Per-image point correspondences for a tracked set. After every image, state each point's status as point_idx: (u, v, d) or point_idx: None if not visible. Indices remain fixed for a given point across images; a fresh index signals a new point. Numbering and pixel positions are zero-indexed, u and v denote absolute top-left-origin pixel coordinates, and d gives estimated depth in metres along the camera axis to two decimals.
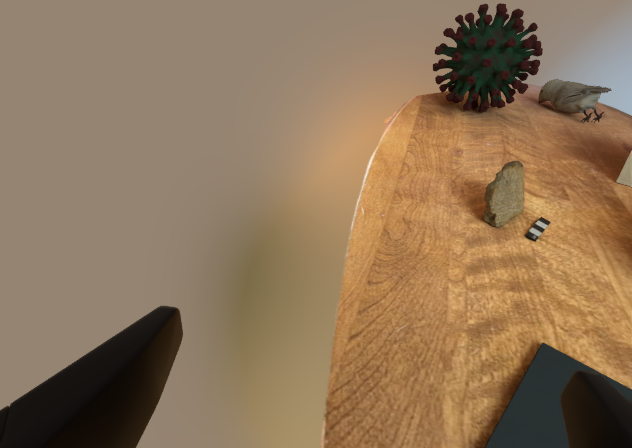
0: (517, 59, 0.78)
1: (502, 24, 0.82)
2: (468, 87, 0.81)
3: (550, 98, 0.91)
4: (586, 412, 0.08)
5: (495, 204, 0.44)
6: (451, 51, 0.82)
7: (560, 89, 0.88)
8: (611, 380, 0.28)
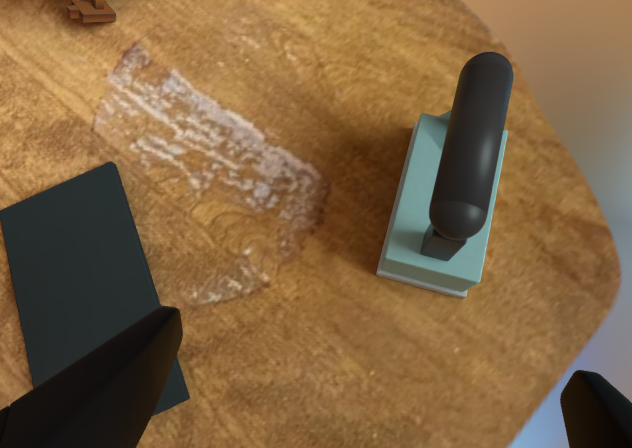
0: None
1: None
2: None
3: None
4: (586, 412, 0.08)
5: None
6: None
7: None
8: (63, 184, 0.27)
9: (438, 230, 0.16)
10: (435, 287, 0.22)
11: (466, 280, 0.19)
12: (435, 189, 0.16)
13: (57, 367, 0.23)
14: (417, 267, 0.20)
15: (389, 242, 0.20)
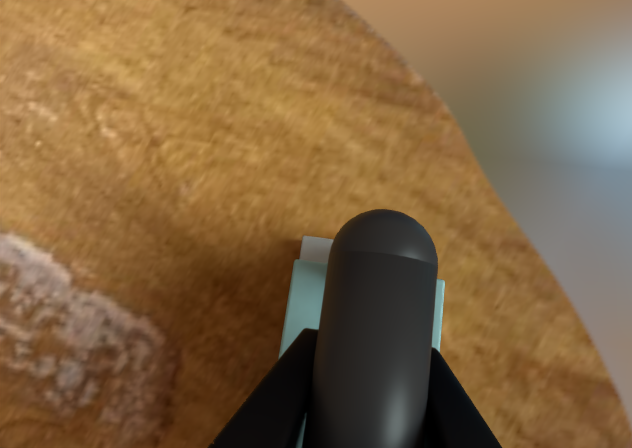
0: None
1: None
2: None
3: None
4: None
5: None
6: None
7: None
8: None
9: None
10: None
11: None
12: None
13: None
14: None
15: None
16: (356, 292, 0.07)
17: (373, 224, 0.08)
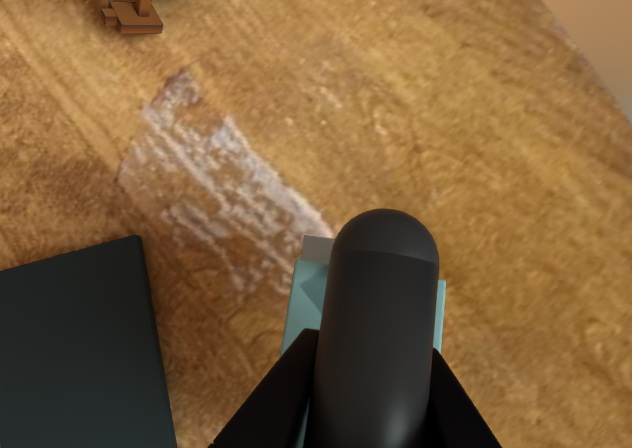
0: None
1: None
2: None
3: None
4: None
5: None
6: None
7: None
8: (71, 255, 0.21)
9: None
10: None
11: None
12: None
13: None
14: None
15: None
16: (358, 291, 0.07)
17: (375, 223, 0.08)
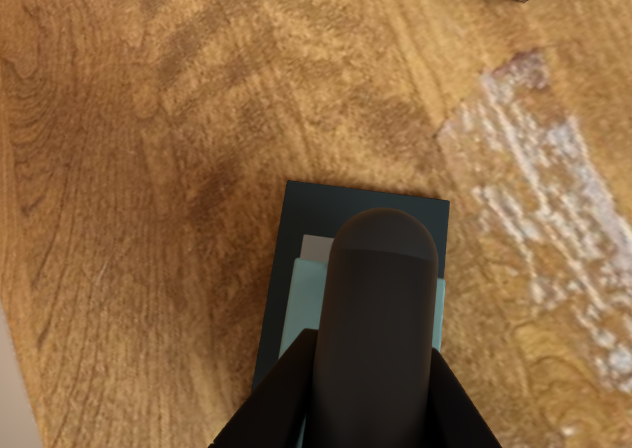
0: None
1: None
2: None
3: None
4: None
5: None
6: None
7: None
8: (378, 195, 0.20)
9: None
10: None
11: None
12: None
13: None
14: None
15: None
16: (356, 290, 0.07)
17: (374, 222, 0.08)
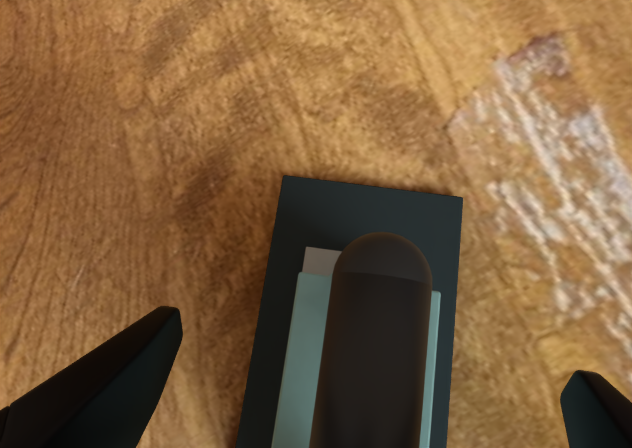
0: None
1: None
2: None
3: None
4: (586, 412, 0.08)
5: None
6: None
7: None
8: (383, 191, 0.18)
9: None
10: None
11: None
12: None
13: None
14: None
15: None
16: (357, 310, 0.08)
17: (373, 247, 0.08)
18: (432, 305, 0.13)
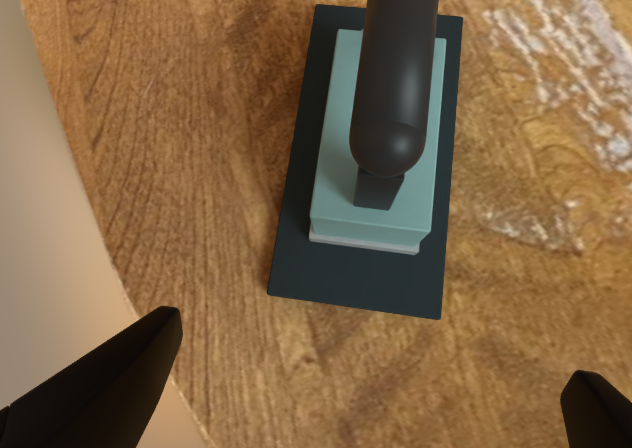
0: None
1: None
2: None
3: None
4: (586, 412, 0.08)
5: None
6: None
7: None
8: None
9: (363, 166, 0.12)
10: (381, 245, 0.18)
11: (414, 231, 0.15)
12: (353, 111, 0.12)
13: None
14: (351, 223, 0.16)
15: (313, 196, 0.16)
16: None
17: None
18: (440, 47, 0.17)
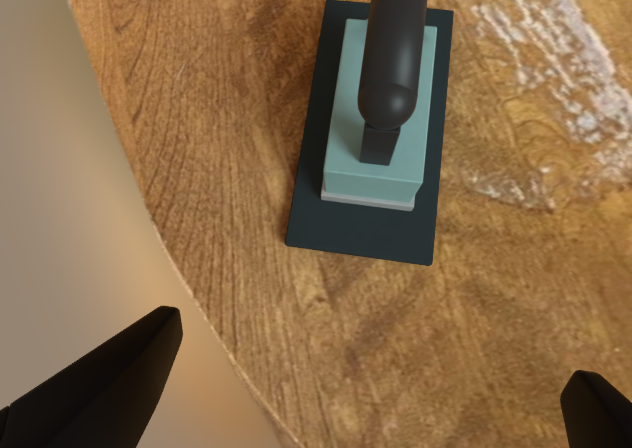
0: None
1: None
2: None
3: None
4: (586, 412, 0.08)
5: None
6: None
7: None
8: None
9: (368, 120, 0.15)
10: (382, 201, 0.22)
11: (409, 183, 0.19)
12: (361, 77, 0.15)
13: None
14: (358, 176, 0.19)
15: (326, 154, 0.19)
16: None
17: None
18: (431, 33, 0.20)
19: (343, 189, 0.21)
